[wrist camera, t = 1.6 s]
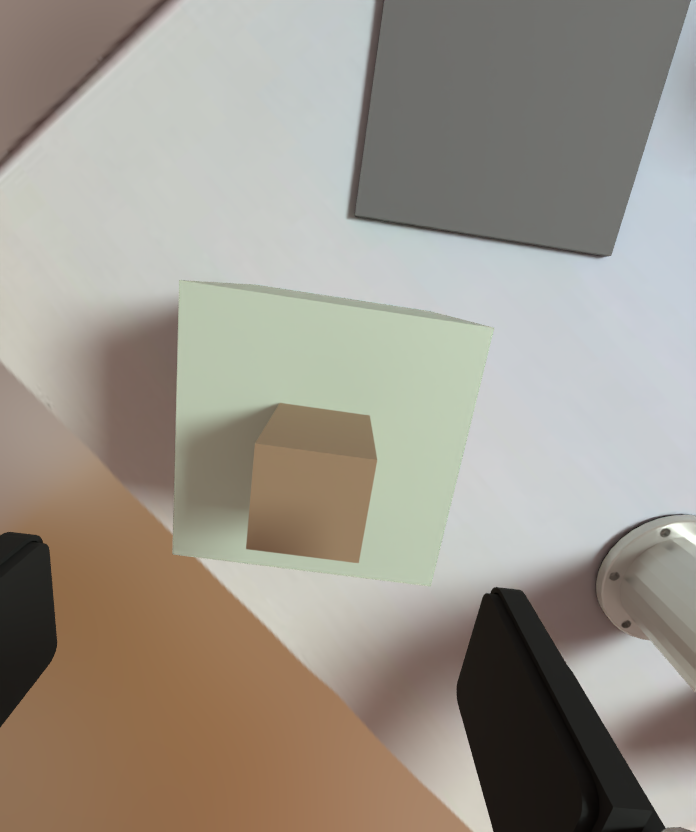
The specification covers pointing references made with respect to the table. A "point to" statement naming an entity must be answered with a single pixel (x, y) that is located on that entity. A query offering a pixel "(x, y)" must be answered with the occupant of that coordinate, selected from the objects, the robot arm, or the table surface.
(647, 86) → the mat
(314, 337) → the pale green block
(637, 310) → the table surface
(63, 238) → the table surface
